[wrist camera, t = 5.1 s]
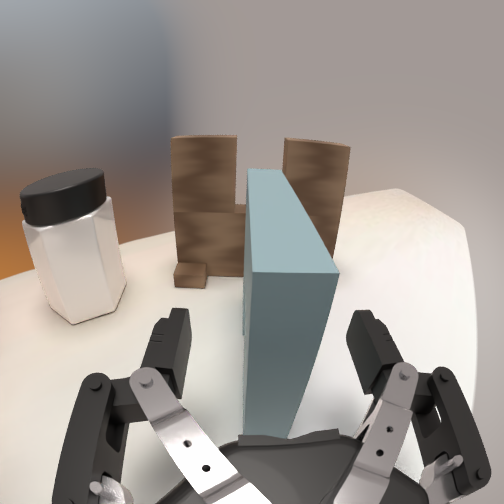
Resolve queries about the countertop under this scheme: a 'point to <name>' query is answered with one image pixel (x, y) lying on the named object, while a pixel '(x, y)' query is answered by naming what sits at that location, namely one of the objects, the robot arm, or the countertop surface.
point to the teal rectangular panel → (280, 302)
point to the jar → (74, 243)
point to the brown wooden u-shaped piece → (234, 215)
